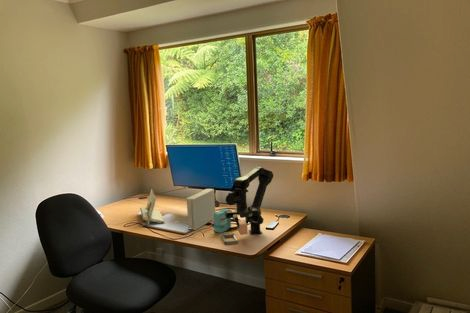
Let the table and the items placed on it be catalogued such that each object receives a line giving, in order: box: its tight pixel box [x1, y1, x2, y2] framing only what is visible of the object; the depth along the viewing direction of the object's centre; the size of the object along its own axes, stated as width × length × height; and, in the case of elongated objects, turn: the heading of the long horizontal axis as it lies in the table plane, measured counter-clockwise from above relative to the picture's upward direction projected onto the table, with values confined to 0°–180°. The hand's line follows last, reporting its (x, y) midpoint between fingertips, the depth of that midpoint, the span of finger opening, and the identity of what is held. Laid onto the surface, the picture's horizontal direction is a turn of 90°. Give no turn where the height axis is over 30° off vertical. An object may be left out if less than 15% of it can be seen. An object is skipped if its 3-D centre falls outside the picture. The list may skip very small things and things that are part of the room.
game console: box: [186, 188, 216, 231], centre depth 239 cm, size 6×27×20 cm, turn 156°
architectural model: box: [139, 188, 166, 225], centre depth 253 cm, size 20×29×21 cm
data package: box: [213, 208, 232, 234], centre depth 225 cm, size 12×4×12 cm, turn 148°
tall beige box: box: [237, 219, 249, 236], centre depth 209 cm, size 8×4×6 cm, turn 11°
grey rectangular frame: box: [220, 233, 239, 246], centre depth 208 cm, size 12×8×2 cm, turn 11°
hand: (242, 227), depth 209 cm, fingers closed on tall beige box, 4 cm apart
